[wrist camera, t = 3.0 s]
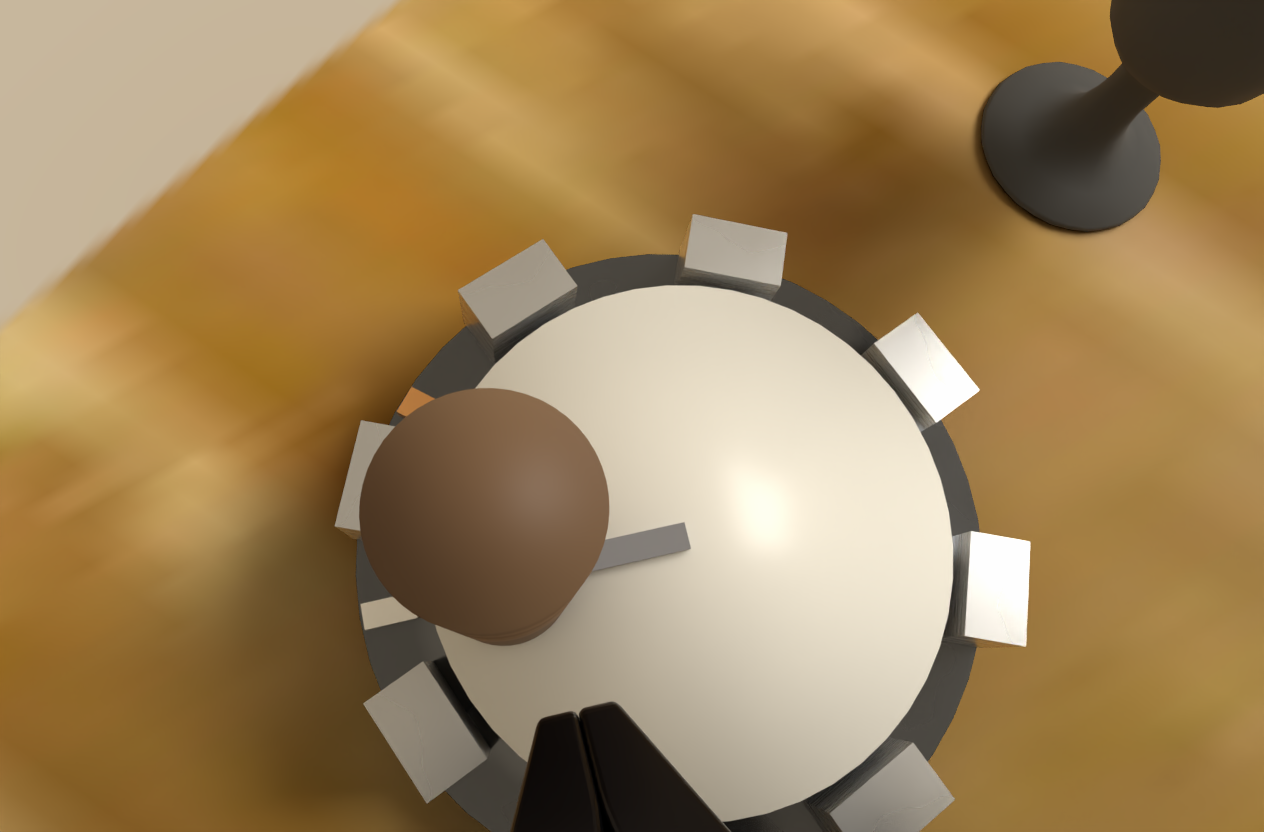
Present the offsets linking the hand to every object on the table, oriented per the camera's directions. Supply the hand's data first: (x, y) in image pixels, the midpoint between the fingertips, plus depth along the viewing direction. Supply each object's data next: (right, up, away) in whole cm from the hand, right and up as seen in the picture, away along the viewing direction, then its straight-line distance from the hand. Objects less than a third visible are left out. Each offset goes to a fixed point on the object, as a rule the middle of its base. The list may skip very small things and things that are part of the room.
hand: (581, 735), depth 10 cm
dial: (+2, +1, +9) cm, 9 cm away
